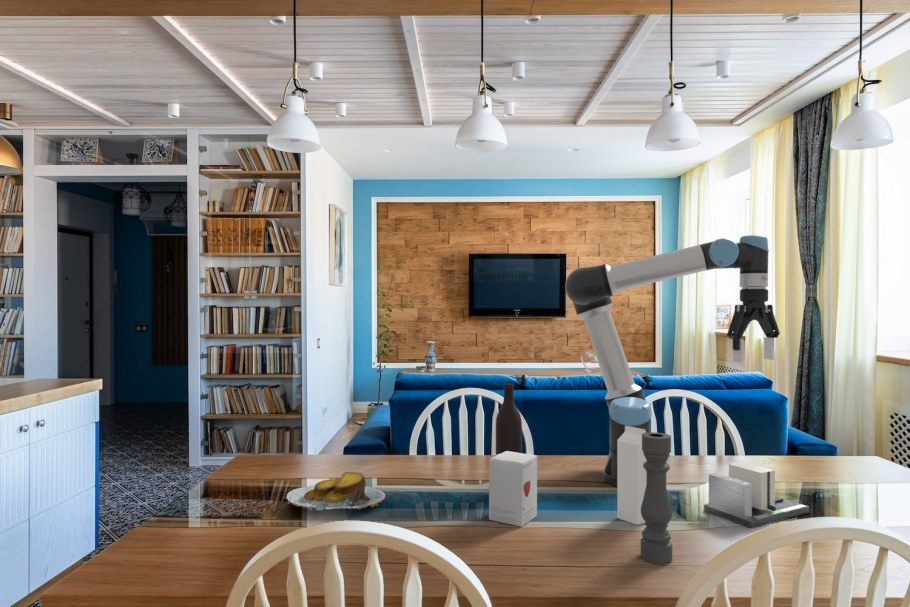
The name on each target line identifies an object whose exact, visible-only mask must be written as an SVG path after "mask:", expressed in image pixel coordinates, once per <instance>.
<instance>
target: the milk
mask: <svg viewBox="0 0 910 607" xmlns="http://www.w3.org/2000/svg"><path fill="white" fill-rule="evenodd" d="M643 433H646V430H645V429H640V428H635V427H630V426H625V432H624V433H623V434H622V436H621V437H620V438H619V439H618V440H617V486H616V488H617V490H616V492H617V493H616V494H617V495H616V496H617V499H616V500H617V501H616V502H617V506H616V508H617V511H616V513H617V516H616V518H617V519H619V520H622V521H624V522H628V523H630V524H633V525H636V526H640V525H642V524H643V525H644V524H645V521H644V520H643V518H642V515H641V505H642V501H643V497H644V493H645V489H646V469H644V467H643V463H645V462H646V461H647V460H646V459H645V456H644V454H643V451H642V434H643Z"/></svg>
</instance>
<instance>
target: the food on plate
mask: <svg viewBox="0 0 910 607" xmlns="http://www.w3.org/2000/svg"><path fill="white" fill-rule="evenodd" d="M366 485H367V483H366V478H365V476H364V474H363V473H361V472H356V471H345V472H343V473H342V475H341V477H340V478H333V479H324V480H321V481H318V482H317V483H315V484H313V485H308V486H305V487H299V488H295V489H292V490H289V492H287V493H286V494H285V495H286V496H285V500H287V501H288V502H287V505H289V504H292V506H295V507H302V508H306V509H307V510H310V511H312V510H316V511H320V512H322V511H325V510H333V509H344V510H345V509H347V510H355V509H357V510H361V509H365V508H367V507H369V506H370V508H374V507H375V506H376V507H377V506H379V504H380V503H382V502H383V501H384V500H385V499H386V496H387V494H385V492H384V491H382V490H380V489H377V488H374V487H372V486H366Z"/></svg>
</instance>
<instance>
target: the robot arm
mask: <svg viewBox="0 0 910 607" xmlns="http://www.w3.org/2000/svg"><path fill="white" fill-rule="evenodd" d="M768 241H769V240H768V237H767V236H766V235H761V234H759V235H758V234H754V235H752V234H751V235H742V236H740V238H739V242H735V241H734V240H732V239H730V238H723V237H722V238H718V239H716V240H714V241H710V242H706V243H703V244H702V243H701V244H697V245H693V246H688V247H685V248H680V249H676V250H672V251H668V252H664V253H663V252H662V253H660V254H656V255H651V256H647V257H644V258H639V259H635V260H631V261H627V262H623V263H618V264H614V265H609V264H607V263H605V264H601V265H595V266H594V265H593V266H587V267H586V266H585V267H584V266H583V267H579V268H576V269H574V270H573V271H571V272H570V273H569V274H568V276H567V278H566V280H565V285H564V288H565V292H566V295H567V297H568V298H569V299H570V300H571V302H572V304H573V306H574V307H573V308H574V310H575V312H576V316H577V317H579V318H580V319H582V320H583V322H584V325H585V327H586V331H587V334H588V336H589V339H590V342H591V345H592V348H593V352H594V354H595V357H596V360H597V364H598V366H599V370H600V372H601V374H602V378H603V381H604V384H605V387H606V390H607V393H606V395H605V397H604V399H605V402H606V404H607V407H608V414H609V454H608V458H607V460H606V462H605V465H604V469H603V474H602V476H603V478H602V479H603V481H604V482H605V483H607V484H609V485H611V486H615V487H617V440H618V439H619V438H620V437H621V436H622V434H623V433H624V432H625V426H630V427H635V428H640V429H645V430H646V433H650V432H652V416H653V411H652V406H651V403H650V402H649V401H648V400H646V397H645V393H644V391H643V388H642V387H641V386H640V385H638V384H636V383H635V381H634V377H633V374H632V372H631V368H630V365H629V362H628V360H627V357H626V354H625V351H624V348H623V345H622V342H621V339H620V336H619V333H618V330H617V328H616V325H615V322H614V319H613V317H612V313H611V309H612V307H613V305H614V304H613V301H612V297H614V296H615V294H616V293H617V292H620V291H623V290H624V291H625V290H628V289H633V288H637V287H642V286H645V285H649V284H654V283H658V282H662V281H667V280H670V279H675V278H680V277H685V276H688V275H693V274H696V273H701V272H705V271H711V270H715V269H716V270H718V269H719V270H720V269H739V287H740V288H741V289H739V301H740V302H742V304H735V305H734V313H733V315H732V319H731V321H730V325H729V327H728V330H727V333H726V334H727V335H726V336H727V337H728V338H729V339H732V350H733V362H737V363H738V362H739V363H743V362H744V338H742V337H743V335H744V334H745V332H746V330H747V328H748V327H749V325H750V323H751V322H753V321H756V322H757V323H758V325H759V327H760V328H761V331H762V332H763V333H764V335H765V337H763V360H769V361H774V359H775V338H777V339H778V337H779V335H780V334H781V333H780V329H779V326H778V324H777V320H776V318H775V317H776V316H775V314H774V311H773V310H774V307H773V304H765V303H766V302H768V301H769V289H768V286H769V252H770V251H769V243H768Z"/></svg>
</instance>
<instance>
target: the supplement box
mask: <svg viewBox="0 0 910 607" xmlns="http://www.w3.org/2000/svg"><path fill="white" fill-rule="evenodd" d="M488 469H489V470H488V473H489V474H488V476H489V477H488V478H489V480H488V483H489V484H488V520H490V521H494V522H497V523H498V522H499V523H503V524H508V525H511V526H512V525H513V526H516V527H521V528H522V527H523V526H524V525H526V524H528V523H529V522H530V521H532V520H533V519H534V518H536V517H537V516H538V455H536V454H529V453H523V452H522V453H517V452H511V451H505V452H503V453H501V454H498V455H496V454H495V455H494V456H492V457H489V466H488Z"/></svg>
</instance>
